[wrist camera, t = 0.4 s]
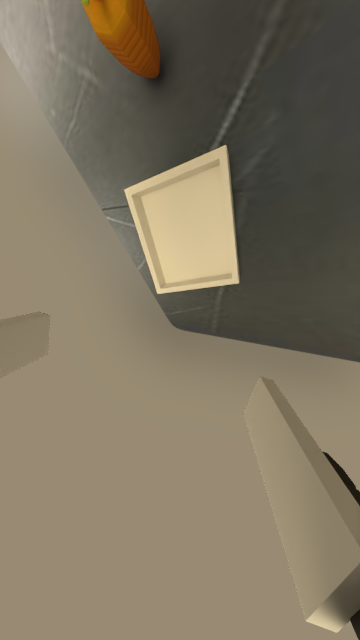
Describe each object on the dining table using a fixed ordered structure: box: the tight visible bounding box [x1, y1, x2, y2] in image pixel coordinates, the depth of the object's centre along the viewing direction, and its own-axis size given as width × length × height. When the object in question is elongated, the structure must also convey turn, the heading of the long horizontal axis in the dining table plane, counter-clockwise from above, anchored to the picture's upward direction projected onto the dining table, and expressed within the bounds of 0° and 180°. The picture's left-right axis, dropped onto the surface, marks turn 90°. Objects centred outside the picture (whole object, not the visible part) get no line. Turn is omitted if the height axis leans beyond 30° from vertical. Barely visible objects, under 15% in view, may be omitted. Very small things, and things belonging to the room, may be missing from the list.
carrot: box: [82, 0, 160, 78], centre depth 17 cm, size 5×5×15 cm
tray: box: [124, 145, 240, 294], centre depth 30 cm, size 18×16×4 cm
